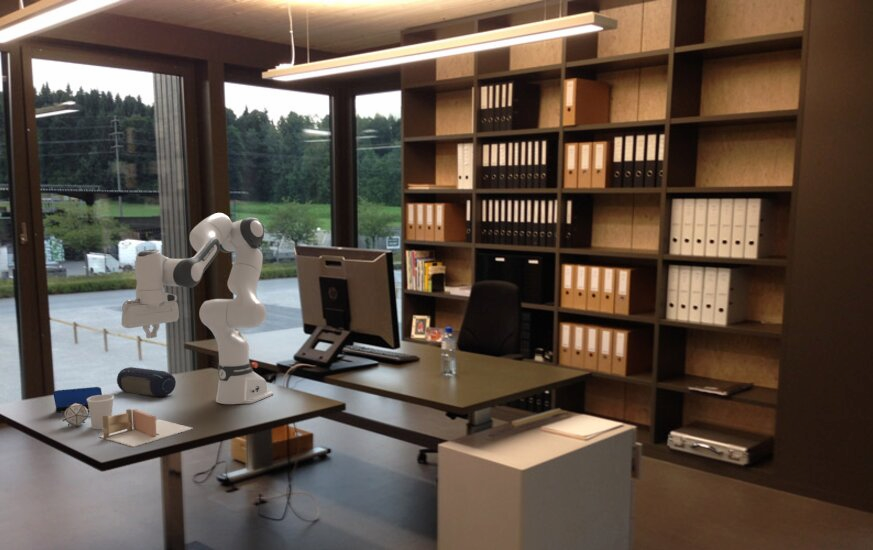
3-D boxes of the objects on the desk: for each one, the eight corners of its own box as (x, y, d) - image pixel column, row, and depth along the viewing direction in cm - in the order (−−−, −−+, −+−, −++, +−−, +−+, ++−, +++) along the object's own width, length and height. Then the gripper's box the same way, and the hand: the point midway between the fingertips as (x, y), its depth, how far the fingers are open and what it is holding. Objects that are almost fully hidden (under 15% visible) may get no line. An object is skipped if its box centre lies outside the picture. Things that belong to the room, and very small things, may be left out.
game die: (74, 435, 244) (72, 408, 249) (97, 426, 244) (95, 399, 248) (56, 429, 236) (55, 401, 241) (79, 420, 236) (78, 392, 240)
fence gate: (132, 428, 238) (131, 409, 237) (136, 427, 239) (136, 408, 238) (152, 436, 229) (151, 417, 228) (157, 435, 230) (156, 416, 229)
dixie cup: (105, 431, 237) (103, 401, 236) (82, 429, 238) (80, 400, 237) (120, 423, 245) (119, 395, 244) (98, 422, 246) (97, 393, 245)
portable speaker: (112, 393, 285) (111, 369, 285) (132, 388, 294) (131, 364, 294) (159, 400, 275) (159, 374, 274) (179, 394, 284) (178, 369, 283)
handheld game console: (105, 402, 273) (104, 378, 272) (102, 411, 261) (101, 386, 260) (59, 406, 268) (58, 382, 267) (54, 416, 255) (52, 390, 254)
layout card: (158, 420, 249) (158, 419, 249) (192, 429, 239) (192, 427, 239) (99, 437, 230) (99, 435, 230) (133, 447, 220) (133, 445, 220)
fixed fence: (130, 430, 237) (129, 408, 236) (133, 430, 236) (132, 409, 236) (102, 438, 229) (101, 416, 228) (105, 438, 228) (104, 416, 227)
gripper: (128, 301, 234) (129, 343, 235) (181, 295, 251) (182, 334, 252) (116, 300, 238) (118, 341, 239) (169, 294, 255) (170, 332, 256)
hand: (151, 337), depth 246 cm, fingers closed
